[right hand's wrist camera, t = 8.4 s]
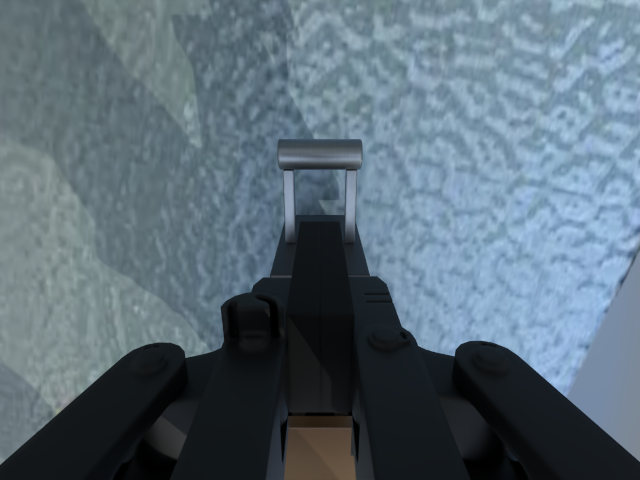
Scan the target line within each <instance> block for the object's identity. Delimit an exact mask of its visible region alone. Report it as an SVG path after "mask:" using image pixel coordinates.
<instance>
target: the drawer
mask: <svg viewBox="0 0 640 480" xmlns="http://www.w3.org/2000/svg"><path fill="white" fill-rule="evenodd" d="M278 165H279V169H281V170H283V186H284V212H285V222H284V226H283V229H282V233H281V237H280V241H279V244H278V248H277V252H276V256H275V259H274V263H273V267H272V271H271V274H270V278H291V277H292V270H293V264H294V258H295V252H296V245H297V239H298V233H299V227H300V221H340V227H341V233H342V239H343V245H344V252H345V258H346V264H347V270H348V276H370V274H369V270H368V267H367V263H366V259H365V255H364V252H363V248H362V244H361V240H360V237H359V233H358V229H357V225H356V221H355V216H356V189H357V170H359V169H361V166H362V141H361V140H360V139H280V140H279V141H278ZM294 170H346V178H345V215H296V213H295V174H294ZM292 416H348V412H292Z"/></svg>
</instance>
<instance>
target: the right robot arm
mask: <svg viewBox="0 0 640 480" xmlns="http://www.w3.org/2000/svg"><path fill="white" fill-rule="evenodd" d="M221 314H222V323H223V332H224V342H223V345H222V347H221V348H220V349H218V350H216V351H214V352H210V353H207V354H203V355H198V356H193V357H188V358H185V352H184V350H183V349H182V348H181V347H180V346H178V345H175V344H172V343H153V344H148V345H145V346H142V347H140V348H137V349H135V350H133V351H131V352H130V353H128V354H127V355H125V356H124V357H122V358H121V359H120V360H119V361H118V362H117V363H116V364H114V365H113V366H112V367H111V368H110V369H109V370H108V371H106V372H105V373H104V374H103V375H102V376H101V377H100V378H99V379H97V380H96V381H95V382H94V383H93V384H92V385H91V386H89V387H88V388H87V389H86V390H85V391H84V392H83V393H81V394H80V395H79V396H78V397H77V398H76V399H75V400H74V401H72V402H71V403H70V404H69V405H68V406H67V407H66V408H64V409H63V410H62V411H61V412H60V413H59V414H58V415H56V416H55V417H54V418H53V419H52V420H51V421H50V422H49V423H47V424H46V425H45V426H44V427H43V428H42V429H41V430H39V431H38V432H37V433H36V434H35V435H34V436H33V437H31V438H30V439H29V440H28V441H27V442H26V443H25V444H24V445H22V446H21V447H20V448H19V449H18V450H17V451H16V452H14V453H13V454H12V455H11V456H10V457H9V458H8V459H6V460H5V461H4V462H3V463H2V464H1V465H0V480H284V474H285V463H286V453H287V442H288V407H289V412H351V405H352V432H351V456H354V463H355V474H356V480H640V462H639V461H638V460H637V459H636V458H635V457H633V456H632V455H631V454H630V453H629V452H628V451H627V450H625V449H624V448H623V447H622V446H621V445H620V444H619V443H617V442H616V441H615V440H614V439H613V438H612V437H611V436H609V435H608V434H607V433H606V432H605V431H604V430H602V429H601V428H600V427H599V426H598V425H597V424H596V423H594V422H593V421H592V420H591V419H590V418H589V417H588V416H586V415H585V414H584V413H583V412H582V411H581V410H580V409H578V408H577V407H576V406H575V405H574V404H573V403H572V402H570V401H569V400H568V399H567V398H566V397H565V396H564V395H562V394H561V393H560V392H559V391H558V390H557V389H556V388H554V387H553V386H552V385H551V384H550V383H549V382H548V381H546V380H545V379H544V378H543V377H542V376H541V375H540V374H538V373H537V372H536V371H535V370H534V369H533V368H532V367H530V366H529V365H528V364H527V363H526V362H525V361H524V360H522V359H521V358H520V357H519V356H518V355H516V354H515V353H513V352H512V351H510V350H509V349H507V348H505V347H502V346H500V345H497V344H495V343H491V342H485V341H469V342H466V343H463V344H461V345H460V346H459V347H458V348H457V349H456V351H455V356H450V355H445V354H440V353H436V352H432V351H429V350H426V349H423V348H421V347H419V346H418V344H417V342H416V339H415V338H414V337H413V335H412V334H411V333H410V332H409V331H407V330H406V329H404V328H403V327H402V326H401V323H400V321H399V318H398V315H397V312H396V309H395V307H394V304H393V303H392V298H391V296H390V293H389V290H388V287H387V284H386V283H384V282H383V281H382V280H381V279H379V278H378V277H377V276H348V270H347V264H346V258H345V252H344V245H343V239H342V233H341V227H340V221H300V227H299V233H298V239H297V245H296V252H295V258H294V264H293V270H292V277H291V278H262V279H261V280H260V281H258V282H257V283H256V284H255V285H254V286H253V289H252V291H251V293H244V294H241V295H237V296H234V297H232V298H231V299H229V300H227V301H226V302H225V303H224V304H223V305H222V306H221Z"/></svg>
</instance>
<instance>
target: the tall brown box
mask: <svg viewBox="0 0 640 480" xmlns="http://www.w3.org/2000/svg"><path fill="white" fill-rule="evenodd" d="M351 432H352V405H351V412H348V416H292V412H289V407H288V442H287V453H286V463H285V474H284V480H356V474H355V463H354V456H351Z"/></svg>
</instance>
